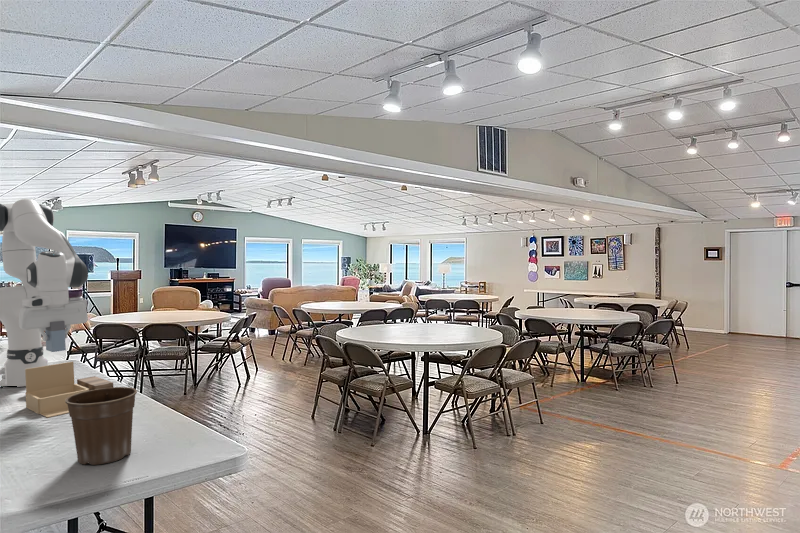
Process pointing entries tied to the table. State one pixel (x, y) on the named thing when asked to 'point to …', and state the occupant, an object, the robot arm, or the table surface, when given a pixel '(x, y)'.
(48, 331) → the blue-grey rectangular block
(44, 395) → the light wooden open box
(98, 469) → the table surface
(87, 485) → the table surface
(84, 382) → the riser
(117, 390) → the plant pot
